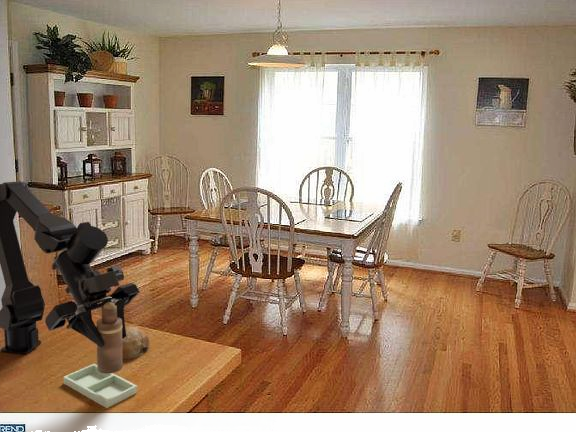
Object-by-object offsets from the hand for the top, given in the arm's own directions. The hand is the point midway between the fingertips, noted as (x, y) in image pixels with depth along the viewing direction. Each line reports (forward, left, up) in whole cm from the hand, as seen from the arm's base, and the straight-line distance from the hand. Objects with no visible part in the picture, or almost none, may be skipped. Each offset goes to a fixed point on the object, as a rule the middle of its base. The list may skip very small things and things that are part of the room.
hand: (114, 341), depth 104 cm
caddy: (-4, +2, -12) cm, 13 cm away
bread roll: (-7, +20, -13) cm, 24 cm away
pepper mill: (-1, +1, -6) cm, 6 cm away
